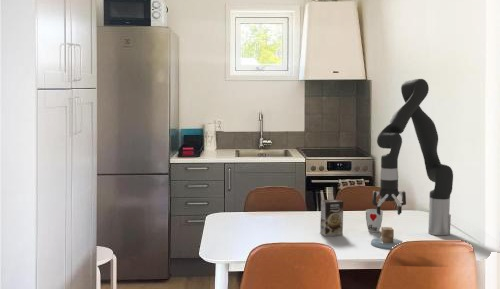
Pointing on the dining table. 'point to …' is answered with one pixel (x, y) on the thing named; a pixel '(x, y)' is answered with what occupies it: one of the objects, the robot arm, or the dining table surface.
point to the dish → (380, 244)
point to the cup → (373, 220)
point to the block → (387, 234)
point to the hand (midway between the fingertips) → (388, 214)
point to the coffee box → (331, 217)
